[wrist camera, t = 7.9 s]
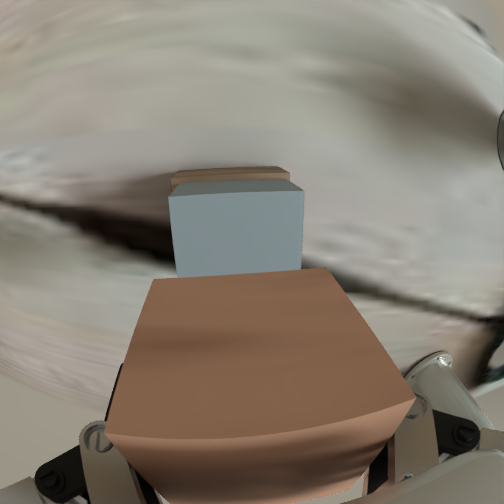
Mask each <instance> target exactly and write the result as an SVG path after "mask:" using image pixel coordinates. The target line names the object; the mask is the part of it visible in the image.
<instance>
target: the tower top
mask: <svg viewBox="0 0 504 504" xmlns="http://www.w3.org/2000/svg"><path fill="white" fill-rule="evenodd" d="M168 200H169V211H170V221H171V230H172V238H173V247H174V254H175V262H176V269H177V276H178V278H184V277H201V276H217V275H232V274H247V273H261V272H275V271H288V270H301V257H302V239H303V218H304V190H302V189H301V188H299V187H298V186H296V185H295V184H293V183H292V182H290V181H289V180H287V179H246V180H223V181H205V182H190V183H180V184H179V185H178V186H177V187H176V188H175V189H174V191H173V192H172V193H171V194H170V195H169V197H168Z"/></svg>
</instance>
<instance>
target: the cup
mask: <svg viewBox="0 0 504 504" xmlns="http://www.w3.org/2000/svg"><path fill="white" fill-rule="evenodd" d="M498 149H499V157H500V160H501V163H502V166H503V169H504V112H503V114H502V115H501V117H500V122H499V126H498Z"/></svg>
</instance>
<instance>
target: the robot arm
mask: <svg viewBox="0 0 504 504" xmlns="http://www.w3.org/2000/svg"><path fill="white" fill-rule="evenodd" d="M452 360H453V359H452V357H451V355H450V354H449V353H448V352H445V351H443V352H438V353H435V354H433V355H430V356H429V357H427V358H425V359H424V360H423V361H421V362H420V363H419V364H417V365H416V366H415V367H414V368H413V369H412V370H411V371H410V372H409V373H408V374H407V375H406V376H405V378H404V379H405V380H406V382H407V384H408V385H409V387H410V388H411V390H412V391H413V393H414V394H415V396H416V399H415V401H414V403H413V404H412V406H411V408H410V409H409V411H408V413H407V414H406V416H405V417H404V419H403V420H402V422H401V423H400V425H399V426H398V428H397V429H396V431H395V432H394V434H393V435H392V437H391V438H390V439H389V441H388V442H387V444H386V445H385V446H384V448H383V449H382V450H381V452H380V453H379V454H378V456H377V457H376V458H375V459H374V461H373V462H372V463H371V464H370V466H369V467H368V468H367V469H366V470H365V472H364V484H363V493H362V497H360V498H357V499H354V500H351V501H348V502H344V503H341V504H504V432H502V431H498V430H496V429H495V428H494V426H493V425H492V424H491V422H490V421H489V419H488V418H487V417H486V415H485V414H484V412H483V411H482V410H481V408H480V407H479V405H478V404H477V403H476V401H475V400H474V398H473V397H472V396H471V394H470V393H469V392H468V390H467V389H466V388H465V386H464V385H463V384H462V383H461V381H460V380H459V379H458V377H457V376H456V375H455V374H454V372H453V371H452V370H451V366H452ZM122 367H123V363H122V364H121V366H120V368H119V372H118V375H117V378H116V381H115V385H114V388H113V391H112V395H111V398H110V402H109V405H108V409H107V412H106V416H105V420H104V421H95V422H91V423H89V424H88V425H86V426H85V427H84V429H83V430H82V431H81V433H80V436H79V445H78V446H76V447H74V448H72V449H71V450H69V451H67V452H65V453H63V454H62V455H60V456H58V457H56V458H54V459H53V460H51V461H49V462H47V463H45V464H43V465H42V466H41V467H39V468H38V470H37V471H36V474H35V477H34V478H31V477H30V476H29V477H27V478H25V479H23V480H21V481H19V482H16V483H14V484H13V485H10V486H7V487H5V488H3V489H0V504H163V502H162V500H161V498H160V495H159V493H158V492H157V491H156V490H155V489H154V488H153V487H152V486H151V485H150V484H149V483H148V482H147V481H146V480H145V479H144V478H143V477H142V476H141V475H140V474H139V473H138V472H137V471H136V470H135V469H134V468H133V467H132V466H131V465H130V463H129V462H128V461H127V460H126V459H125V458H124V457H123V456H122V454H121V453H120V452H119V451H118V450H117V448H116V447H115V446H114V445H113V444H112V442H111V441H110V440H109V439H108V437H107V436H106V435H105V434H104V431H105V427H106V423H107V419H108V415H109V411H110V408H111V404H112V400H113V397H114V393H115V390H116V386H117V383H118V380H119V376H120V373H121V370H122Z"/></svg>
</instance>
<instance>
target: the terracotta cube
mask: <svg viewBox="0 0 504 504" xmlns="http://www.w3.org/2000/svg"><path fill="white" fill-rule="evenodd" d="M415 399H416V396H415V394H414V393H413V391H412V390H411V388H410V387H409V385H408V384H407V382H406V380H405V379H404V377H403V376H402V374H401V373H400V371H399V370H398V368H397V367H396V365H395V364H394V362H393V361H392V359H391V358H390V356H389V355H388V353H387V352H386V350H385V349H384V347H383V346H382V345H381V343H380V342H379V340H378V339H377V337H376V336H375V334H374V333H373V331H372V330H371V329H370V327H369V326H368V324H367V323H366V322H365V320H364V319H363V317H362V316H361V314H360V313H359V312H358V310H357V309H356V307H355V306H354V305H353V303H352V302H351V301H350V299H349V298H348V296H347V295H346V294H345V292H344V291H343V290H342V288H341V287H340V286H339V284H338V283H337V281H336V280H335V279H334V277H333V276H332V275H331V273H330V272H329V271H328V269H327V268H326V267H325V268H313V269H301V270H288V271H275V272H261V273H247V274H232V275H217V276H201V277H184V278H166V279H154V280H153V282H152V285H151V287H150V290H149V292H148V295H147V298H146V300H145V303H144V305H143V308H142V311H141V314H140V316H139V319H138V322H137V325H136V328H135V330H134V333H133V336H132V339H131V342H130V345H129V348H128V351H127V354H126V357H125V360H124V363H123V367H122V370H121V373H120V376H119V380H118V383H117V386H116V390H115V393H114V397H113V400H112V404H111V408H110V411H109V415H108V419H107V423H106V427H105V431H104V434H105V435H106V436H107V437H108V439H109V440H110V441H111V442H112V444H113V445H114V446H115V447H116V448H117V450H118V451H119V452H120V453H121V454H122V456H123V457H124V458H125V459H126V460H127V461H128V462H129V463H130V465H131V466H132V467H133V468H134V469H135V470H136V471H137V472H138V473H139V474H140V475H141V476H142V477H143V478H144V479H145V480H146V481H147V482H148V483H149V484H150V485H151V486H152V487H153V488H154V489H155V490H156V491H157V492H158V493H159V494H160V495H161V496H162V497H163V498H165V499H166V500H167V501H168V502H169V503H170V504H291V503H296V502H302V501H307V500H311V499H315V498H320V497H324V496H328V495H332V494H336V493H340V492H342V491H347V490H349V489H350V488H351V487H352V485H353V484H354V483H355V482H356V481H357V480H358V479H359V478H360V476H361V475H362V474H363V473H364V472H365V470H366V469H367V468H368V467H369V466H370V464H371V463H372V462H373V461H374V459H375V458H376V457H377V456H378V454H379V453H380V452H381V450H382V449H383V448H384V446H385V445H386V444H387V442H388V441H389V439H390V438H391V437H392V435H393V434H394V432H395V431H396V429H397V428H398V426H399V425H400V423H401V422H402V420H403V419H404V417H405V416H406V414H407V413H408V411H409V409H410V408H411V406H412V404H413V403H414V401H415Z"/></svg>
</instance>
